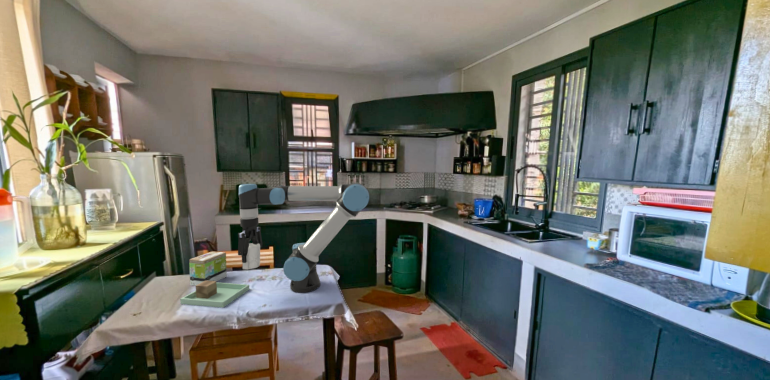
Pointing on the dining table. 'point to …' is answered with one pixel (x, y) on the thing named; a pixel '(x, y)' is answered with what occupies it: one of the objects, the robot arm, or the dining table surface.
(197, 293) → the walnut block
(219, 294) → the mint green serving tray
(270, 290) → the dining table surface
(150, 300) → the dining table surface
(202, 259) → the tea box
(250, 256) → the white cup
